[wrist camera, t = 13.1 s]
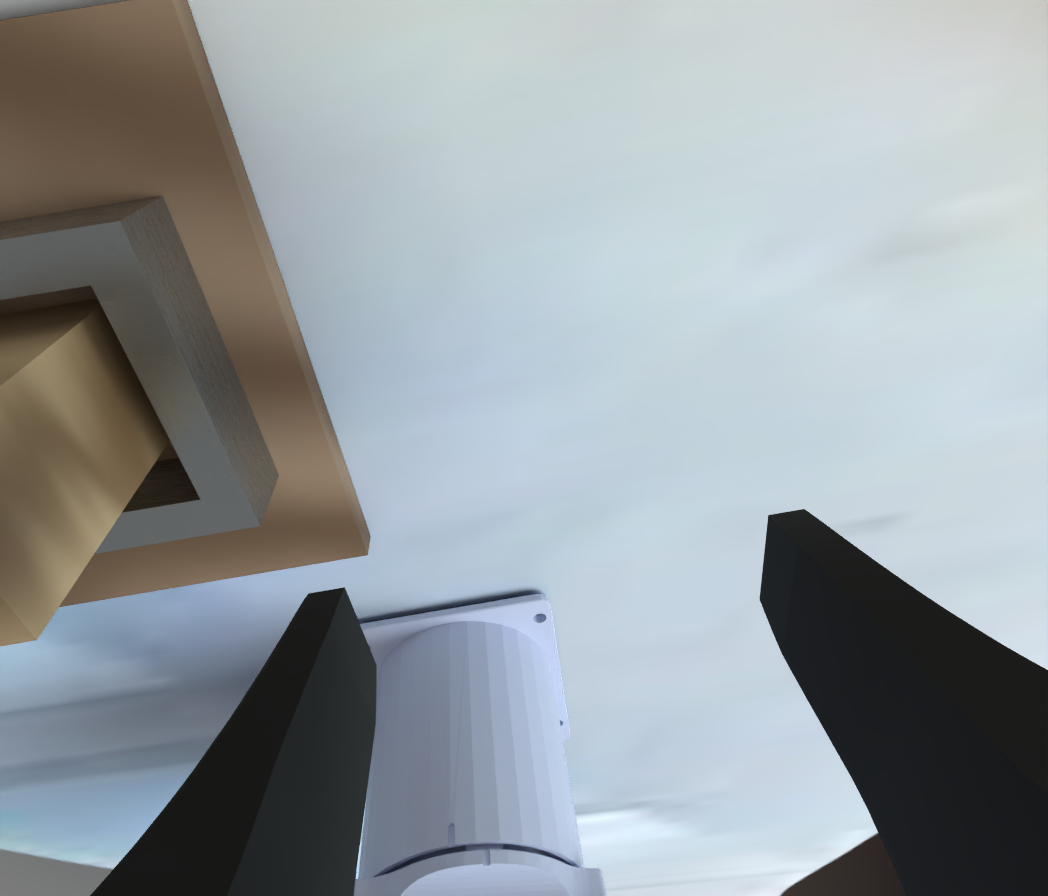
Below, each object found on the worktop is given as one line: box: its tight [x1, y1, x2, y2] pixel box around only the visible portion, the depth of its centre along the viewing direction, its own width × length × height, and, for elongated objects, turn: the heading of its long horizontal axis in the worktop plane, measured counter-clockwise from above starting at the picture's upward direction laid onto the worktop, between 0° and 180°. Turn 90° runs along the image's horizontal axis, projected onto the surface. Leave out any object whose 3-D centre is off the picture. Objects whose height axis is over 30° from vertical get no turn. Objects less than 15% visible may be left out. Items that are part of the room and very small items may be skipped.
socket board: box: [0, 0, 370, 607], centre depth 17 cm, size 16×12×4 cm
